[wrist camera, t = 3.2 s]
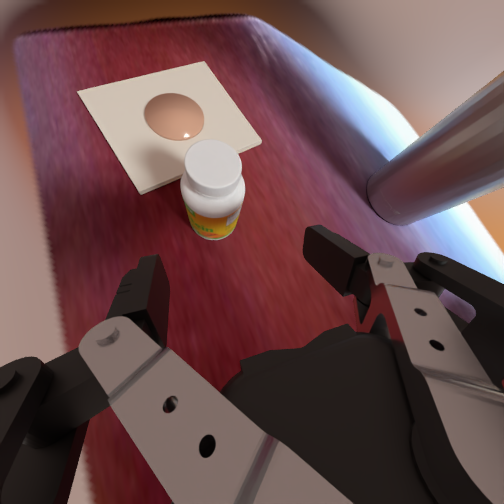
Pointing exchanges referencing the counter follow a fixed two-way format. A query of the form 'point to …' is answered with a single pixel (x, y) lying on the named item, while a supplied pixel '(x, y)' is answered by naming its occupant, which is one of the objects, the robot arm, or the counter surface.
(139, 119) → the mat
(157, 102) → the coaster
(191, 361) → the counter surface
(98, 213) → the counter surface
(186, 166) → the supplement bottle
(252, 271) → the counter surface
